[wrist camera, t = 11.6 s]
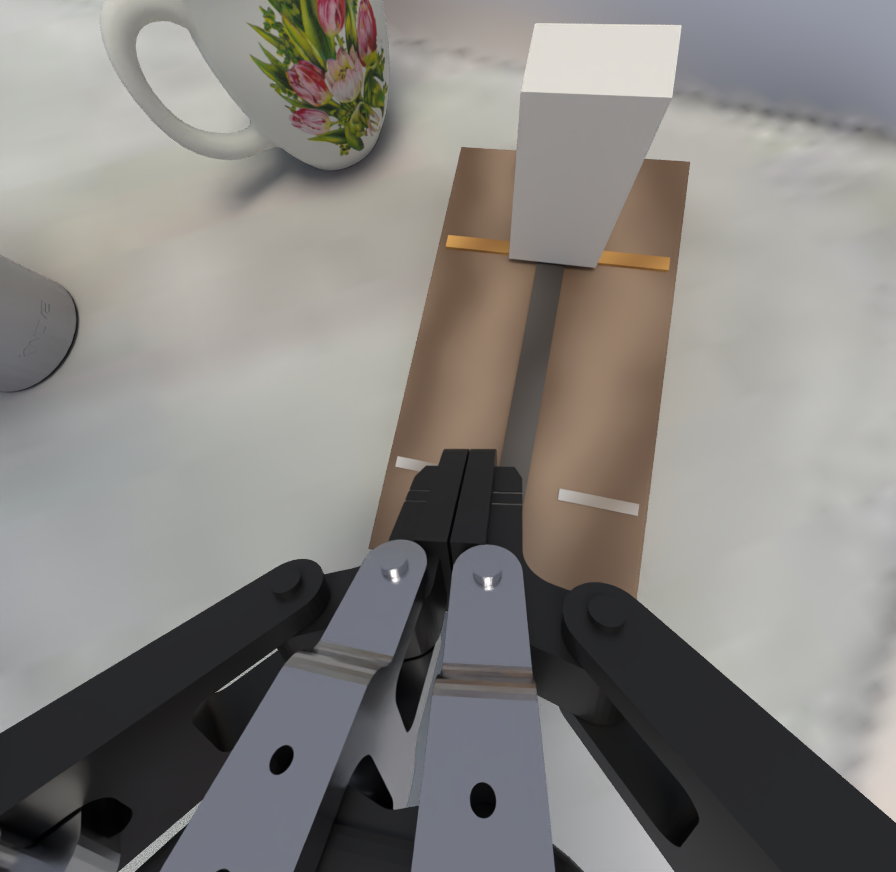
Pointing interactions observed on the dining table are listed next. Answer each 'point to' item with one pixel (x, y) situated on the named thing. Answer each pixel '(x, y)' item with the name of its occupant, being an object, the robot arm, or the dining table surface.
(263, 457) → the dining table surface
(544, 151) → the slider tab
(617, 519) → the board
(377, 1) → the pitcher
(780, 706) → the dining table surface
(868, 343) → the dining table surface
